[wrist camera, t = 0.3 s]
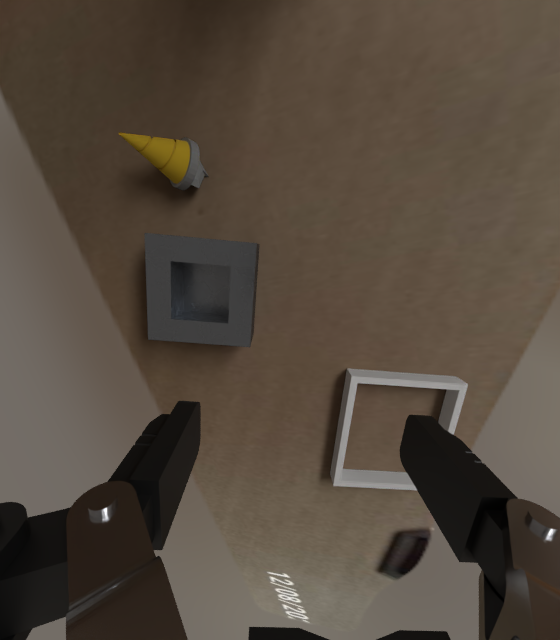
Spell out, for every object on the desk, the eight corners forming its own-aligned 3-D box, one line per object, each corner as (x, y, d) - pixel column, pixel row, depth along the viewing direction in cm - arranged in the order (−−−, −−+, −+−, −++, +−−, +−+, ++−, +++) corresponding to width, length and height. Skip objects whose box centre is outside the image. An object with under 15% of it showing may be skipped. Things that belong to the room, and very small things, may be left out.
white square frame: (346, 368, 40) (351, 376, 38) (456, 376, 41) (468, 384, 39) (330, 473, 45) (333, 485, 42) (428, 478, 46) (437, 491, 43)
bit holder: (164, 235, 35) (144, 233, 30) (259, 244, 35) (256, 243, 30) (165, 327, 38) (148, 339, 33) (253, 333, 39) (250, 347, 33)
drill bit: (199, 206, 35) (111, 173, 27) (195, 170, 36) (109, 129, 28) (223, 183, 31) (129, 137, 24) (218, 144, 32) (127, 88, 25)
